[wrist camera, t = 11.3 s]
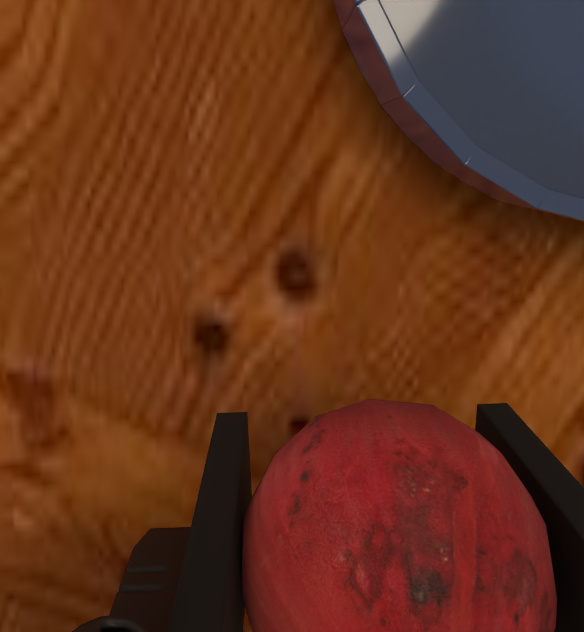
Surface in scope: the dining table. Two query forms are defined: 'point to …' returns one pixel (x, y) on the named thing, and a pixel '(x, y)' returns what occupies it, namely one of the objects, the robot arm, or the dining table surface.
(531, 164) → the blue round pan
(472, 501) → the onion
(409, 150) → the dining table surface
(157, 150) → the dining table surface
